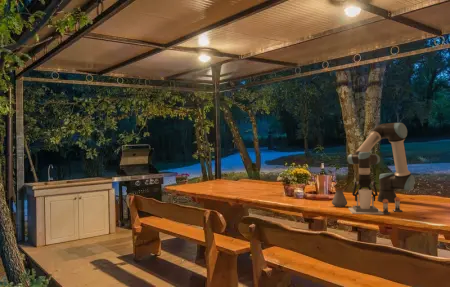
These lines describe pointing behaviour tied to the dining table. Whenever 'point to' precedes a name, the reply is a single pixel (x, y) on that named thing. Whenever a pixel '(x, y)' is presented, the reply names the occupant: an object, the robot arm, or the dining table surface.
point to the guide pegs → (397, 209)
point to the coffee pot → (339, 198)
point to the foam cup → (365, 198)
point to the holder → (365, 210)
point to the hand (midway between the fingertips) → (365, 205)
